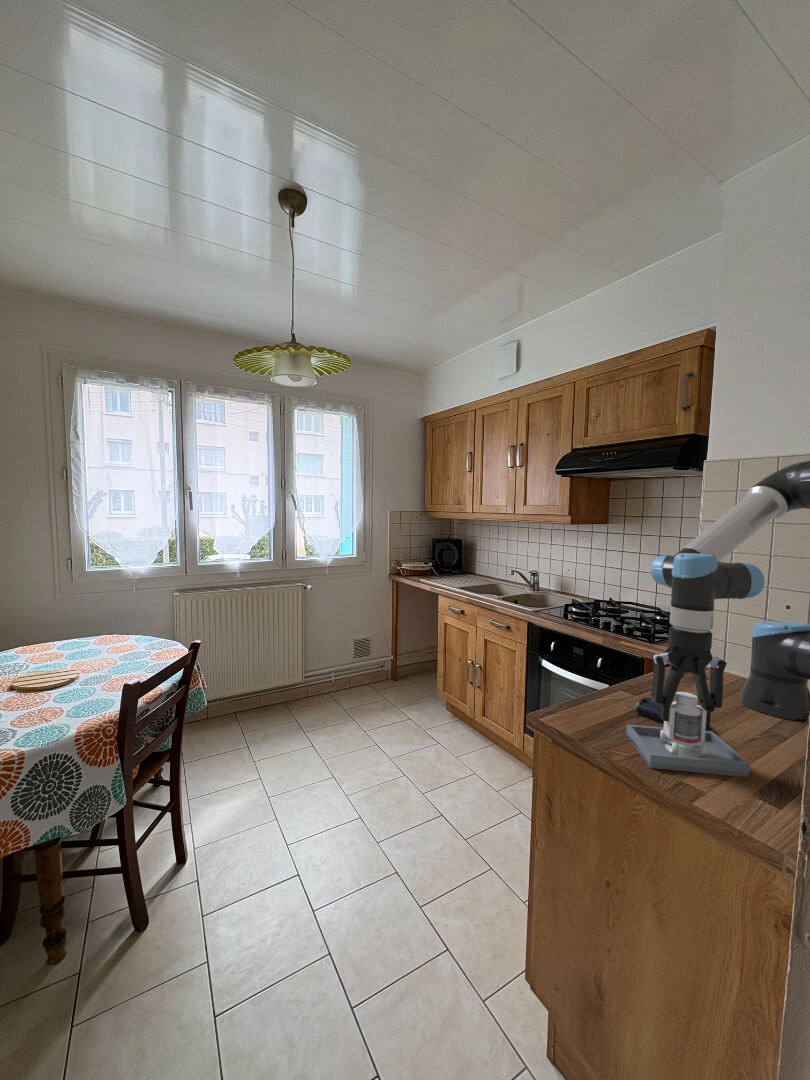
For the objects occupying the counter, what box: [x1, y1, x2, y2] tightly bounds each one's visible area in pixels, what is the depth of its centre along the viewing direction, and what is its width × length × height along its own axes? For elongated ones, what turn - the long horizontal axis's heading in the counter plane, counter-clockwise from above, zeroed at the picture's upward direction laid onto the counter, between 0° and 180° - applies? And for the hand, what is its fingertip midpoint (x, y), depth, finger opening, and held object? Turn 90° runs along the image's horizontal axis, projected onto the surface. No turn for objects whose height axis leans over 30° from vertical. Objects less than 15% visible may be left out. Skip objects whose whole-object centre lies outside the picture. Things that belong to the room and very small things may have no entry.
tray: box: [625, 724, 751, 778], centre depth 92 cm, size 18×13×4 cm
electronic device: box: [634, 696, 711, 731], centre depth 108 cm, size 9×6×15 cm
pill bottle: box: [671, 691, 701, 746], centre depth 92 cm, size 5×5×10 cm
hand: (683, 736), depth 92 cm, fingers closed on pill bottle, 5 cm apart
